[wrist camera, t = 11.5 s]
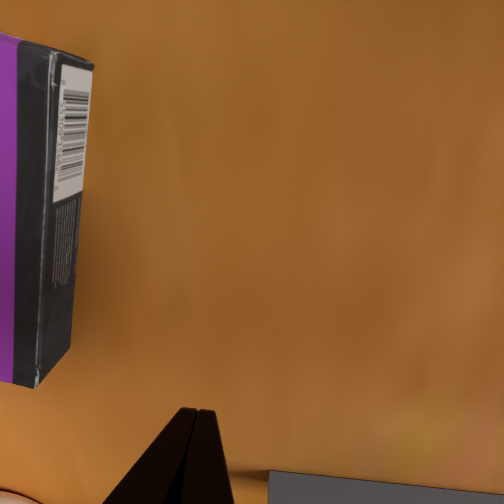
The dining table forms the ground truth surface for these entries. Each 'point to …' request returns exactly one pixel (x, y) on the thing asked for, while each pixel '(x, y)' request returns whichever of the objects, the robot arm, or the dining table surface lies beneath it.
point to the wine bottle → (14, 499)
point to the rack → (363, 492)
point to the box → (39, 202)
